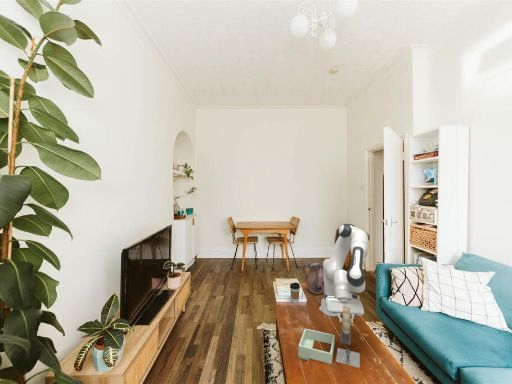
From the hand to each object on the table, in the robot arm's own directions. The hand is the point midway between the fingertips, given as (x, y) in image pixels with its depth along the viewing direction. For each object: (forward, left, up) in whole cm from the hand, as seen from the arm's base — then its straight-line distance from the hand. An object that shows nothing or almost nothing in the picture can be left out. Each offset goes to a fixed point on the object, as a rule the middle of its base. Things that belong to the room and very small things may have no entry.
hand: (346, 322), depth 136 cm
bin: (-1, -16, -22) cm, 27 cm away
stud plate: (-1, +1, -22) cm, 22 cm away
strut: (-1, 0, -11) cm, 11 cm away
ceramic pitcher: (-81, -31, -22) cm, 89 cm away
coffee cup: (-56, -43, -22) cm, 74 cm away
